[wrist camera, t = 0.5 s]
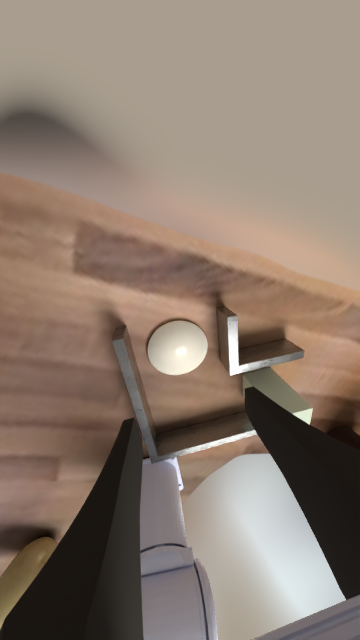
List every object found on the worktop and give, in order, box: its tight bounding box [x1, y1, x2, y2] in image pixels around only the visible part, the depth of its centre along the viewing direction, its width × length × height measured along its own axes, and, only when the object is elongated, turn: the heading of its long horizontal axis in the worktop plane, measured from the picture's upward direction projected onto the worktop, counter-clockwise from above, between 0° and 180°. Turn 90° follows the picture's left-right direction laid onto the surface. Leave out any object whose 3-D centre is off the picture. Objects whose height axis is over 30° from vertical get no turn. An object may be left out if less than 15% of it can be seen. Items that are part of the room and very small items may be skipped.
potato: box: [0, 537, 58, 629], centre depth 26 cm, size 8×8×8 cm
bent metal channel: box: [112, 307, 304, 464], centre depth 22 cm, size 18×20×3 cm
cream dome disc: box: [148, 320, 208, 375], centre depth 21 cm, size 7×7×1 cm
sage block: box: [242, 367, 313, 425], centre depth 22 cm, size 4×4×7 cm
